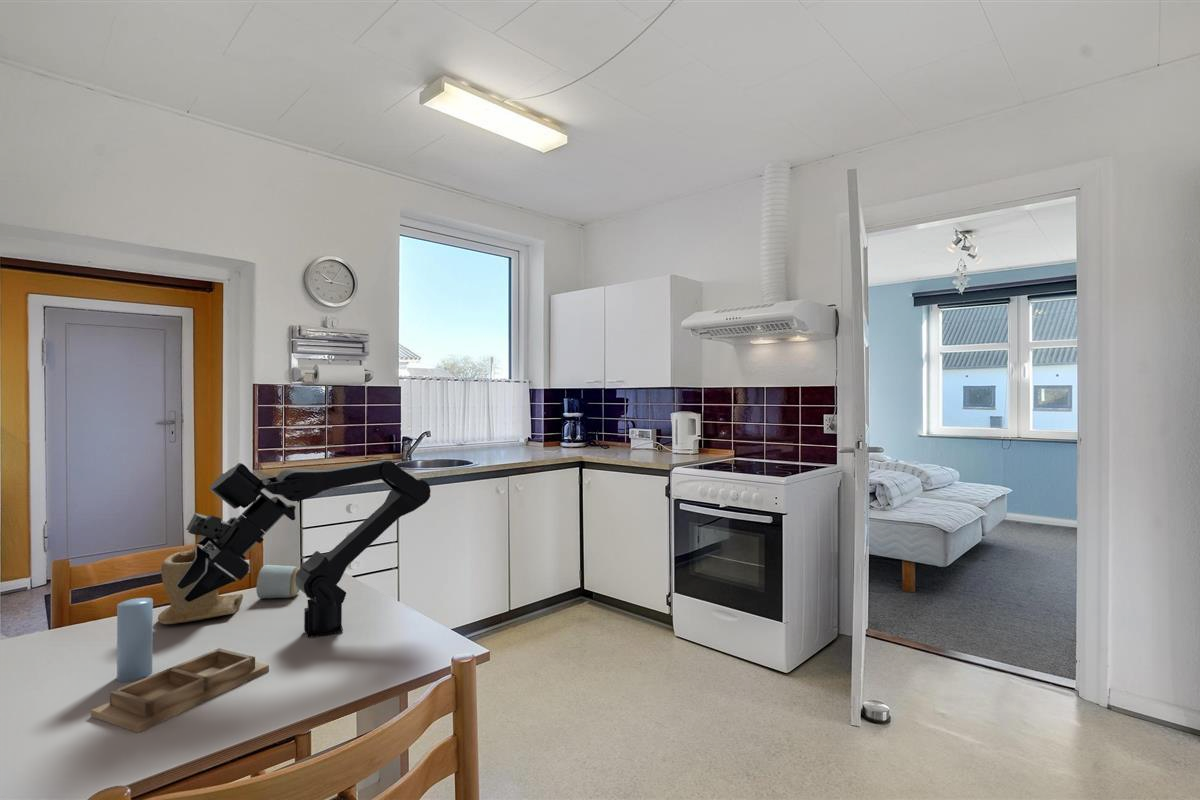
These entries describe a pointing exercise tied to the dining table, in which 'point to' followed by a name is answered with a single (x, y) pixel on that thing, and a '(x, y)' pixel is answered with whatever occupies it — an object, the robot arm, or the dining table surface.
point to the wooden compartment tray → (177, 689)
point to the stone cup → (179, 606)
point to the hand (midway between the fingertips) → (182, 593)
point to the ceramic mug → (277, 582)
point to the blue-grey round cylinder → (134, 639)
